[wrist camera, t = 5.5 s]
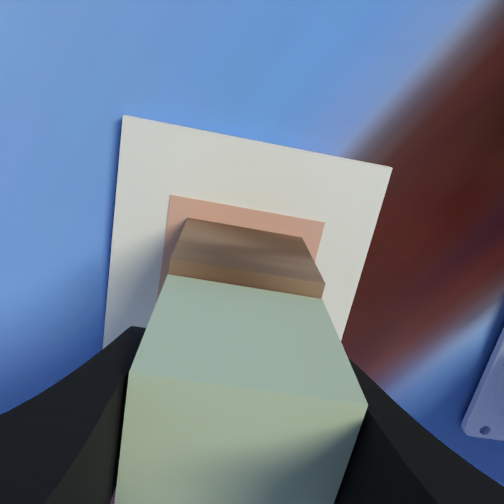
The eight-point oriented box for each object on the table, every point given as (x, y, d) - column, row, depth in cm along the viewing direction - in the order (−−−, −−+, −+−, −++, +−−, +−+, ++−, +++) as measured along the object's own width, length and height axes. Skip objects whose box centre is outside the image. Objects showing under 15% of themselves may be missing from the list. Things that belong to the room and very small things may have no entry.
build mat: (388, 166, 16) (393, 168, 16) (291, 494, 21) (293, 502, 21) (125, 114, 15) (122, 115, 15) (93, 472, 20) (90, 480, 20)
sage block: (322, 298, 12) (368, 405, 8) (288, 420, 14) (312, 565, 9) (167, 274, 12) (128, 372, 7) (150, 402, 13) (109, 545, 9)
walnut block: (301, 237, 16) (325, 283, 12) (278, 336, 18) (291, 408, 14) (187, 217, 16) (170, 258, 12) (172, 320, 17) (152, 390, 13)
